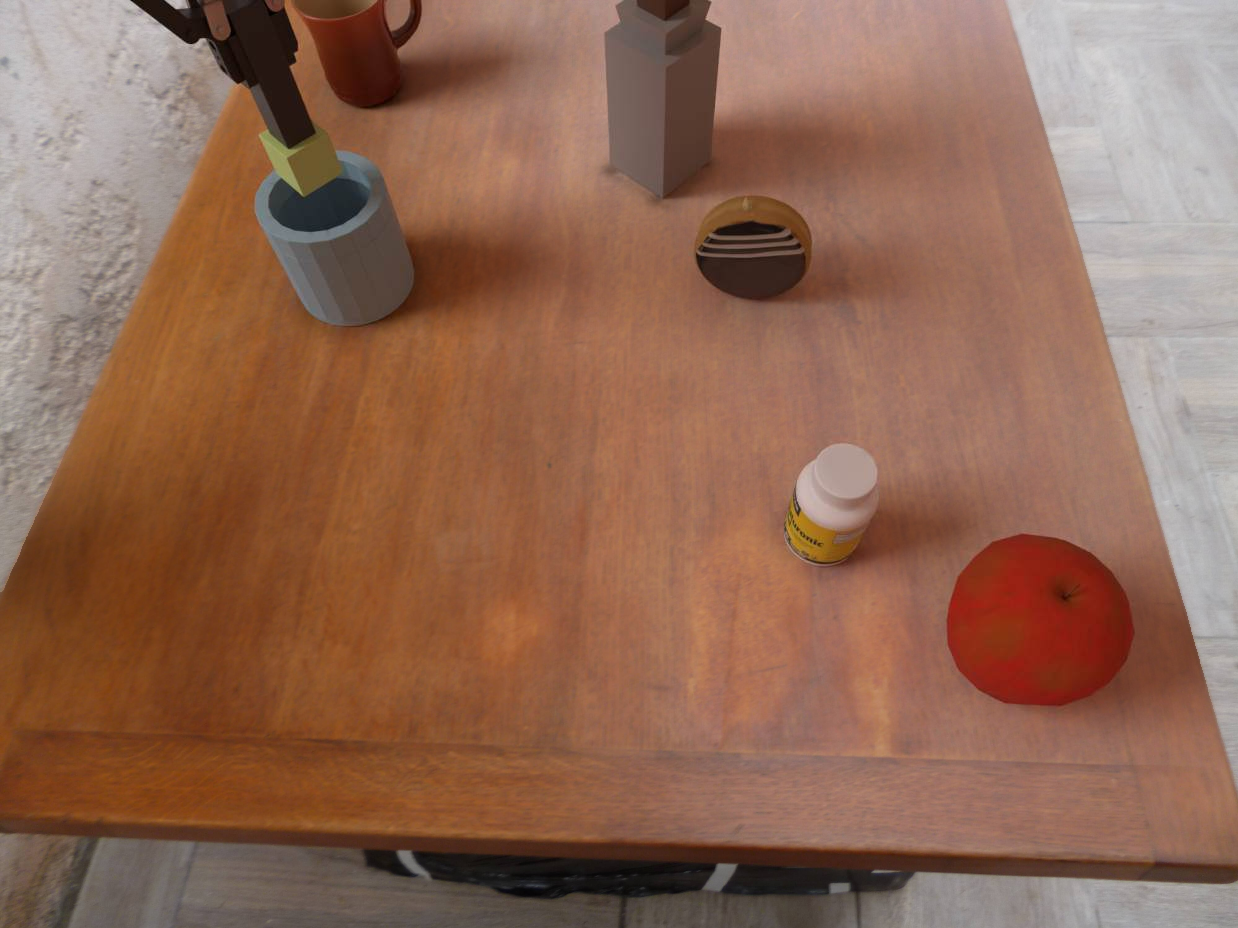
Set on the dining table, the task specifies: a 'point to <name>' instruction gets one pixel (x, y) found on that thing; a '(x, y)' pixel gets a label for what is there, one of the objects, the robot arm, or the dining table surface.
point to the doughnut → (753, 247)
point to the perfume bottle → (661, 90)
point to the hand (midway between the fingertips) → (265, 70)
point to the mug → (358, 46)
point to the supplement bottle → (832, 505)
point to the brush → (282, 103)
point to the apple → (1038, 622)
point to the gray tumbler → (339, 243)
